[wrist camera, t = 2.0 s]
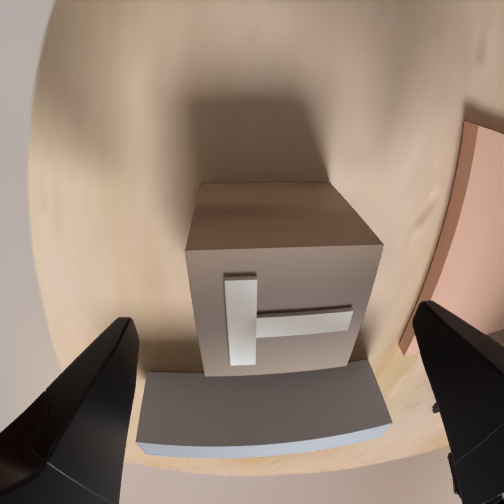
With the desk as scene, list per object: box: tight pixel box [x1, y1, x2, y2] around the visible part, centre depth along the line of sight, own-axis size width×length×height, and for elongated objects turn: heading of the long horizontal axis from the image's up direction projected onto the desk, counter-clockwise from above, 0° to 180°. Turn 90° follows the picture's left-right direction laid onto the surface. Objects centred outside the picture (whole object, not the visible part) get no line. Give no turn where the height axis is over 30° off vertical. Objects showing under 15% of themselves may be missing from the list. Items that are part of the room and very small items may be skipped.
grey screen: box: [136, 359, 392, 458], centre depth 16 cm, size 2×14×5 cm, turn 90°
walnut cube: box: [185, 182, 384, 376], centre depth 11 cm, size 5×5×5 cm
